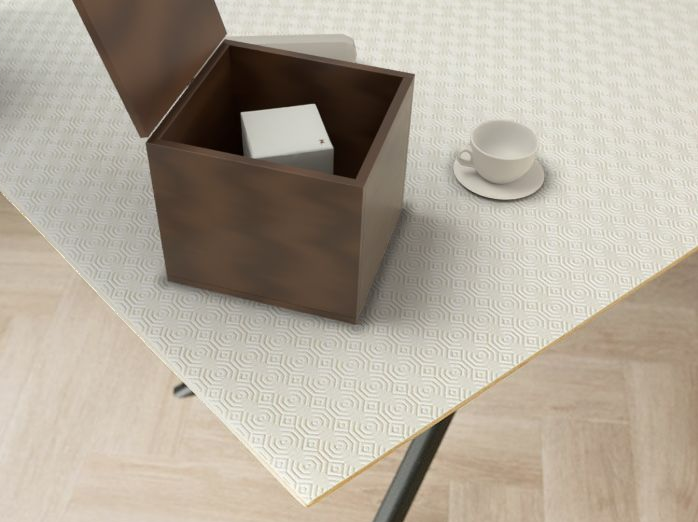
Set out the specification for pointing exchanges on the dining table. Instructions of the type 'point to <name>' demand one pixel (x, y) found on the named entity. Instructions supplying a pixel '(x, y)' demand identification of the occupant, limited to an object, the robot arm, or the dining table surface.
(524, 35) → the dining table surface
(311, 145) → the white packaging box
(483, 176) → the teacup
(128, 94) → the chest lid
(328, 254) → the chest
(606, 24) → the dining table surface
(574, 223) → the dining table surface
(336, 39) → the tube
